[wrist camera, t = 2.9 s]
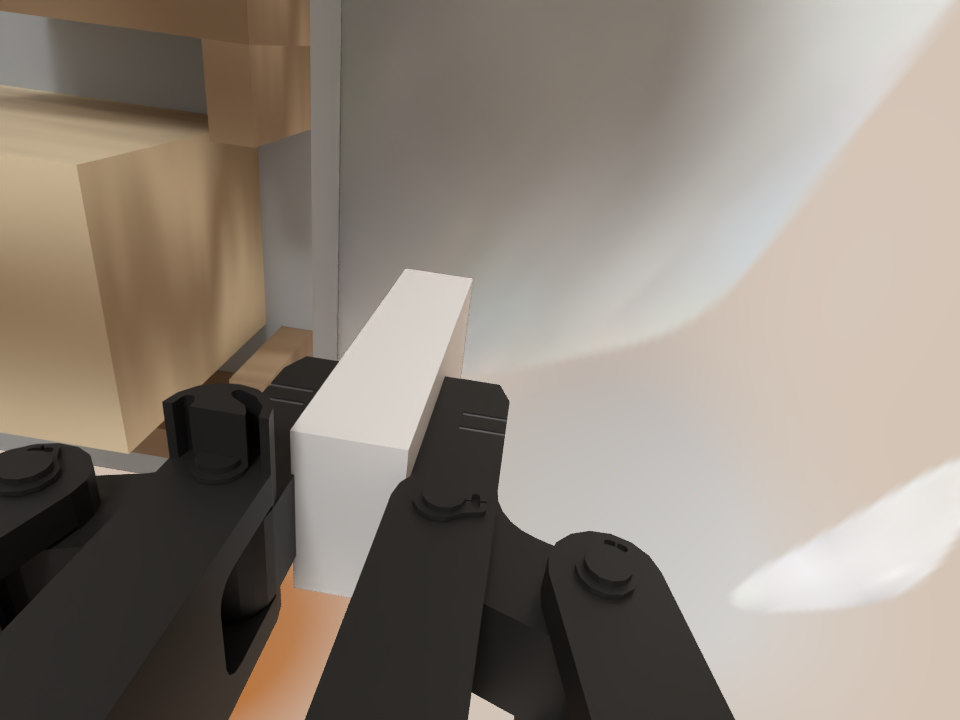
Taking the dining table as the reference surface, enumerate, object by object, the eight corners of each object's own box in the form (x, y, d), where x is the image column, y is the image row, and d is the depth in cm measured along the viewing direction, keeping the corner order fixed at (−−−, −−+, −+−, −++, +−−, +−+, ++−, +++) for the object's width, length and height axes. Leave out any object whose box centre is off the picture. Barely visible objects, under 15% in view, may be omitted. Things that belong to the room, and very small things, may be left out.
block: (-27, 80, 17) (-368, 99, 11) (256, 121, 16) (76, 164, 10) (23, 285, 20) (-225, 394, 13) (266, 323, 19) (128, 453, 13)
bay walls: (37, -37, 15) (-95, -58, 12) (309, 0, 15) (246, -13, 12) (113, 378, 21) (35, 436, 18) (313, 411, 21) (270, 475, 17)
